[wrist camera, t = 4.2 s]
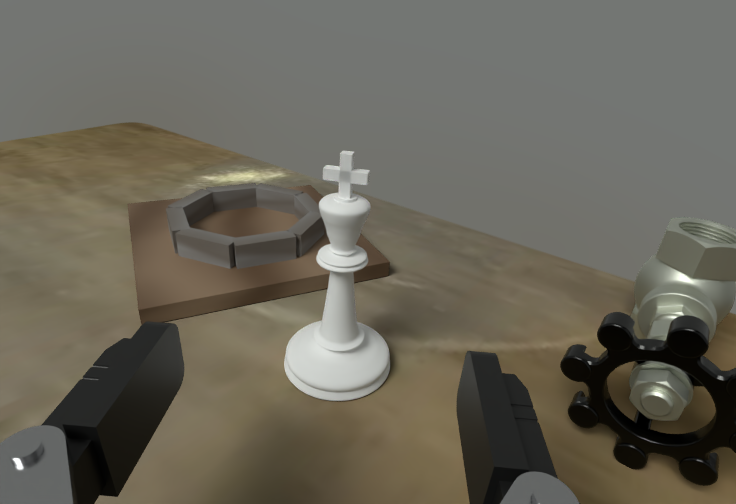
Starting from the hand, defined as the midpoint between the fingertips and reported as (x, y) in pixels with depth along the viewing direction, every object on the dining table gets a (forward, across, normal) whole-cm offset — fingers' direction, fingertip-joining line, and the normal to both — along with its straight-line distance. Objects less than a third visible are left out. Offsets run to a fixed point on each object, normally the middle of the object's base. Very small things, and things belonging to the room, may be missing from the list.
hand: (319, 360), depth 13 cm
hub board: (+18, +7, +6) cm, 20 cm away
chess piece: (+7, 0, +6) cm, 9 cm away
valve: (+8, -15, +6) cm, 18 cm away
